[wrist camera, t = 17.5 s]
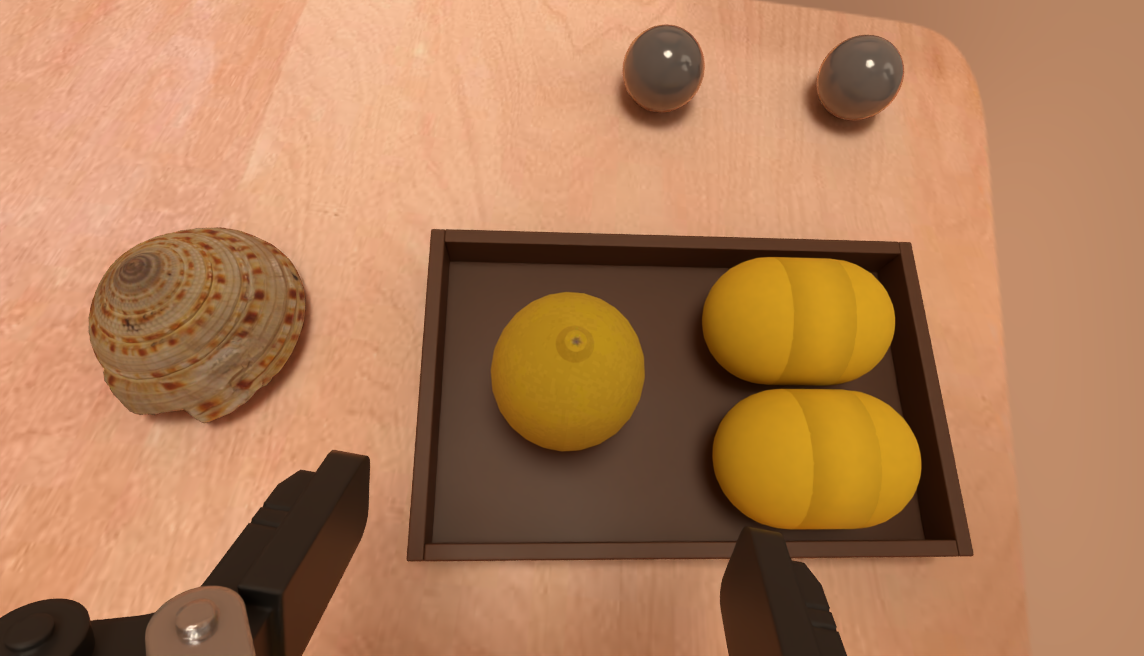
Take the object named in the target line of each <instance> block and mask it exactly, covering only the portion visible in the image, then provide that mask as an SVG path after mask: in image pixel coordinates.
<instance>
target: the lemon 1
mask: <svg viewBox="0 0 1144 656" xmlns="http://www.w3.org/2000/svg"><path fill="white" fill-rule="evenodd" d="M644 379H645V370H644V355H643V352H642V349H641V345H640V342H639V339H638V336H637V334H636V333H635V331H634V329H633V328H632V326H631V324H630V323H629V321H628V320H627V319H626V318H625V317H624V316H623V315H622V314H621V313H620V312H619V311H618V310H617V309H616V308H615V307H613V306H612V305H610V304H608V303H607V302H605V301H603V300H602V299H600V298H597V297H594V296H590V295H587V294H584V293H574V292H563V293H556V294H550V295H547V296H545V297H542V298H540V299H537V300H535V301H533V302H531V303H530V304H528V305H527V306H526V307H524V308H523V309H522V310H520V311H519V312H518V313H516V315H515V316H514V317H513V318H512V319H511V321H510V322H509V323H508V324H507V326H506V327H505V328H504V329H503V331H502V333H501V336H500V338H499V340H498V342H497V344H496V346H495V349H494V353H493V359H492V365H491V380H492V390H493V394H494V396H495V399H496V402H497V405H498V407H499V410H500V412H501V413H502V415H503V416H504V418H505V419H506V420H507V422H508V423H509V425H510V426H511V427H512V428H513V429H514V430H515V431H517V432H518V433H519V434H520V435H521V436H522V437H524V438H525V439H526V440H528V441H530V442H532V443H534V444H536V445H538V446H540V447H543V448H547V449H552V450H557V451H577V450H583V449H586V448H589V447H592V446H595V445H598V444H601V443H602V442H604V441H605V440H607V439H608V438H610V437H611V436H613V435H615V434H616V433H617V432H618V431H619V430H620V429H621V428H622V427H623V425H624V424H625V423H626V422H627V421H628V420H629V419H630V417H631V416H632V414H633V412H634V410H635V408H636V406H637V404H638V402H639V400H640V397H641V393H642V388H643V384H644Z"/></svg>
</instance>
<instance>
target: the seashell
mask: <svg viewBox="0 0 1144 656" xmlns="http://www.w3.org/2000/svg"><path fill="white" fill-rule="evenodd" d="M304 312H305V295H304V289H303V285H302V283H301V280H300V277H299V275H298V273H297V271H296V269H295V267H294V265H293V264H292V263H291V261H290V260H289V258H287V257H286V256H285V255H284V254H283V253H282V252H281V251H280V250H278V249H277V248H276V247H275V246H273V245H272V244H270V243H268V242H266V241H264V240H261V239H259V238H257V237H255V236H253V235H250V234H247V233H245V232H242V231H238V230H233V229H226V228H196V229H189V230H181V231H178V232H173V233H169V234H165V235H161V236H157V237H155V238H152V239H149V240H147V241H145V242H142V243H140V244H138V245H136V246H135V247H133V248H131V249H130V250H128V251H127V252H125V253H124V254H123V255H122V256H120V257H119V258H118V259H117V260H116V261H115V262H114V263H113V264H112V265H111V266H110V268H109V269H108V271H107V272H106V273H105V275H104V276H103V278H102V280H101V281H100V283H99V285H98V287H97V290H96V292H95V295H94V297H93V300H92V304H91V308H90V314H89V335H90V342H91V344H92V347H93V350H94V353H95V355H96V358H97V359H98V361H99V362H100V364H101V365H102V367H103V368H104V372H103V373H104V379H105V382H106V383H107V384H108V385H109V386H110V390H111V391H112V393H113V394H114V395H115V396H116V397H117V398H118V399H119V400H120V401H121V403H122V404H123V405H124V406H125V407H126V408H127V409H128V410H129V411H131V412H133V413H135V414H139V415H143V414H152V415H155V414H158V413H163V412H172V411H179V410H185V411H186V412H188V413H189V414H190V415H192V416H193V417H194V418H196V419H197V420H199V421H200V422H202V423H206V422H210V421H212V420H214V419H217V418H219V417H222V416H224V415H227V414H229V413H231V412H233V411H234V410H236V409H237V408H238V406H241V405H242V404H244V403H246V402H247V401H248V400H249V399H250V398H251V397H252V396H253V395H254V393H255V392H256V391H257V390H258V389H259V388H261V387H263V386H266V385H267V383H268V382H270V381H271V380H272V377H273V376H275V375H276V374H277V373H278V372H279V371H280V370H281V369H282V367H283V366H284V364H285V363H286V361H287V360H288V358H289V357H290V355H291V353H292V352H293V349H294V347H295V345H296V343H297V340H298V338H299V335H300V332H301V329H302V325H303V321H304ZM263 383H264V384H263ZM262 384H263V385H262Z"/></svg>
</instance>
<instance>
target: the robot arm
mask: <svg viewBox="0 0 1144 656" xmlns="http://www.w3.org/2000/svg"><path fill="white" fill-rule="evenodd" d="M369 479H370V459H369V457H368V456H365V455H359V454H354V453H348V452H343V451H337V450H332V451H331V452H330V453H329V454H328V455H327V457H326V458H325V459H324V461H323V462H322V464H321V465H320V467H319V468H318V470H317V471H316V472H311V471H305V470H299V471H298V472H296V473H295V474H293V475H292V476H290V477H289V478H287V479H286V480H284V481H283V482H281V483H279V484H278V485H277V487H276V488H275V489H274V490H273V492H272V493H271V494H270V496H269V497H268V498H267V500H266V501H265V502H264V505H263V507H261V508H260V509H259V510H258V512H257V513H256V514H255V516H254V517H253V518H252V521H251V523H249V524H248V525H247V526H246V528H245V529H244V530H243V532H242V533H241V534H240V536H239V537H238V538H237V539H236V541H235V542H234V543H233V545H232V546H231V547H230V549H229V550H228V551H227V553H226V554H225V555H224V557H223V558H222V559H221V561H220V562H219V563H218V565H217V566H216V567H215V569H214V570H213V571H212V573H211V574H210V575H209V577H208V578H207V579H206V581H205V582H204V583H203V584H202V585H201V586H200V587H198V588H194V589H191V590H188V591H185V592H183V593H181V594H179V595H177V596H175V597H173V598H172V599H170V600H168V601H167V602H166V603H165V604H163V605H162V606H161V607H160V608H159V609H158V610H157V611H156V612H155V613H151V614H146V615H140V616H131V617H122V618H112V619H103V620H93V621H90V617H89V614H88V611H87V610H86V608H85V607H84V606H83V605H81V604H80V603H78V602H76V601H73V600H68V599H47V600H42V601H37V602H34V603H30V604H27V605H25V606H22V607H20V608H17V609H15V610H13V611H11V612H9V613H8V614H6V615H4V616H3V617H1V618H0V656H302V654H303V652H304V650H305V648H306V646H307V645H308V643H309V641H310V639H311V637H312V635H313V633H314V631H315V629H316V627H317V625H318V623H319V621H320V619H321V617H322V615H323V613H324V611H325V609H326V607H327V605H328V603H329V601H330V599H331V597H332V595H333V594H334V592H335V590H336V588H337V586H338V584H339V582H340V580H341V578H342V576H343V574H344V572H345V570H346V568H347V566H348V564H349V562H350V560H351V558H352V556H353V554H354V552H355V550H356V548H357V546H358V545H359V543H360V540H361V538H362V536H363V533H364V530H365V526H366V522H367V517H368V509H369ZM720 607H721V613H722V619H723V625H724V631H725V636H726V642H727V648H728V654H729V656H847V654H846V651H845V649H844V646H843V643H842V640H841V638H840V635H839V632H837V631H836V624H835V621H834V618H833V616H832V613H831V612H829V608H830V607H829V605H828V602H827V599H826V596H825V594H824V591H823V588H822V585H821V584H820V582H819V581H818V580H817V579H816V577H815V576H814V575H813V574H812V572H811V571H810V570H809V568H808V567H807V566H806V565H805V563H802V562H797V561H791V557H790V554H789V551H788V548H787V545H786V542H785V539H784V537H783V535H782V534H781V533H779V532H773V531H768V530H762V529H757V528H752V527H744V528H743V529H742V530H741V532H740V535H739V537H738V540H737V542H736V545H735V547H734V550H733V553H732V555H731V558H730V560H729V563H728V565H727V568H726V571H725V573H724V576H723V579H722V583H721V590H720Z"/></svg>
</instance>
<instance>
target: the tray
mask: <svg viewBox="0 0 1144 656" xmlns="http://www.w3.org/2000/svg"><path fill="white" fill-rule="evenodd" d="M763 257H788V258H827V259H836V260H843V261H847V262H850V263H853V264H856V265H858V266H860V267H862V268H863V269H865V270H866V271H868V272H869V273H871V274H872V275H873V276H874V277H875V278H876V279H877V280H878V281H879V282H880V283H881V284H882V285H883V286H884V288H885V290H886V291H887V293H888V295H889V297H890V299H891V302H892V304H893V308H894V314H895V330H894V335H893V339H892V342H891V344H890V346H889V348H888V350H887V352H886V354H885V355H884V357H883V358H882V360H881V361H880V362H879V363H878V364H877V365H876V366H875V367H874V368H873V369H872V370H870V371H869V372H867V373H866V374H864V375H863V376H861V377H859V378H857V379H855V380H852V381H849V382H845V383H842V384H837V385H766V384H757V383H751V382H748V381H745V380H742V379H740V378H738V377H736V376H734V375H733V374H731V373H729V372H728V371H727V370H726V369H724V368H723V367H722V366H721V365H720V364H719V363H718V362H717V361H716V359H715V358H714V356H713V355H712V354H711V352H710V351H709V348H708V346H707V344H706V341H705V339H704V335H703V327H702V315H703V308H704V304H705V301H706V298H707V296H708V294H709V292H710V290H711V288H712V287H713V285H714V284H715V283H716V282H717V280H718V279H719V278H720V277H721V276H722V275H723V274H725V273H726V272H727V271H728V270H729V269H731V268H733V267H734V266H736V265H738V264H740V263H742V262H745V261H748V260H752V259H755V258H763ZM563 292H574V293H584V294H587V295H590V296H594V297H597V298H600V299H602V300H603V301H605V302H607V303H608V304H610V305H612V306H613V307H615V308H616V309H617V310H618V311H619V312H620V313H621V314H622V315H623V316H624V317H625V318H626V319H627V320H628V321H629V323H630V324H631V326H632V328H633V329H634V331H635V333H636V334H637V336H638V339H639V342H640V345H641V349H642V352H643V355H644V370H645V379H644V384H643V388H642V393H641V397H640V400H639V402H638V404H637V406H636V408H635V410H634V412H633V414H632V416H631V417H630V419H629V420H628V421H627V422H626V423H625V424H624V425H623V427H622V428H621V429H620V430H619V431H618V432H617V433H616V434H615V435H613V436H611V437H610V438H608V439H607V440H605V441H604V442H602V443H601V444H598V445H595V446H592V447H589V448H586V449H583V450H577V451H557V450H552V449H547V448H543V447H540V446H538V445H536V444H534V443H532V442H530V441H528V440H526V439H525V438H524V437H522V436H521V435H520V434H519V433H518V432H517V431H515V430H514V429H513V428H512V427H511V426H510V425H509V423H508V422H507V420H506V419H505V418H504V416H503V415H502V413H501V412H500V410H499V407H498V405H497V402H496V399H495V396H494V394H493V390H492V380H491V365H492V359H493V353H494V349H495V346H496V344H497V342H498V340H499V338H500V336H501V333H502V331H503V329H504V328H505V327H506V326H507V324H508V323H509V322H510V321H511V319H512V318H513V317H514V316H515V315H516V313H518V312H519V311H520V310H522V309H523V308H524V307H526V306H527V305H528V304H530V303H531V302H533V301H535V300H537V299H540V298H542V297H545V296H547V295H550V294H556V293H563ZM773 389H843V390H849V391H857V392H862V393H865V394H868V395H871V396H873V397H875V398H877V399H879V400H881V401H883V402H884V403H886V404H888V405H889V406H891V407H892V408H893V409H894V410H895V411H896V412H897V413H898V414H899V415H900V416H901V417H903V419H904V420H905V421H906V422H907V424H908V425H909V427H910V429H911V430H912V432H913V434H914V436H915V438H916V440H917V443H918V445H919V450H920V454H921V476H920V480H919V483H918V486H917V489H916V491H915V493H914V495H913V497H912V499H911V500H910V501H909V502H908V504H907V505H906V506H905V507H904V508H903V510H902V511H901V512H899V513H898V514H896V515H895V516H893V517H892V518H890V519H889V520H887V521H886V522H883V523H881V524H878V525H875V526H872V527H867V528H859V529H781V528H774V527H770V526H767V525H764V524H761V523H758V522H756V521H754V520H753V519H751V518H749V517H747V516H746V515H744V514H743V513H742V512H741V511H740V510H738V509H737V508H736V507H735V506H734V505H733V504H732V503H731V502H730V500H729V499H728V498H727V497H726V495H725V494H724V493H723V491H722V489H721V487H720V485H719V482H718V480H717V478H716V475H715V472H714V466H713V442H714V437H715V435H716V432H717V430H718V427H719V425H720V423H721V421H722V420H723V418H724V417H725V415H726V414H727V413H728V411H729V410H731V409H732V408H733V407H734V406H735V405H736V404H737V403H738V402H740V401H741V400H743V399H745V398H747V397H748V396H750V395H753V394H756V393H759V392H762V391H766V390H773ZM744 527H752V528H757V529H762V530H768V531H773V532H779V533H781V534H782V535H783V537H784V539H785V542H786V545H787V548H788V551H789V554H790V557H791V558H842V557H953V556H973V555H974V554H973V549H972V544H971V539H970V534H969V529H968V524H967V519H966V514H965V509H964V504H963V499H962V494H961V489H960V484H959V479H958V474H957V469H956V465H955V460H954V455H953V450H952V445H951V440H950V435H949V430H948V425H947V420H946V415H945V410H944V405H943V400H942V395H941V390H940V385H939V380H938V375H937V370H936V365H935V360H934V355H933V350H932V345H931V340H930V335H929V330H928V325H927V320H926V315H925V310H924V305H923V300H922V295H921V290H920V285H919V280H918V275H917V270H916V266H915V261H914V256H913V251H912V246H911V243H910V242H899V243H898V242H885V241H849V240H813V239H776V238H740V237H703V236H667V235H630V234H594V233H558V232H521V231H485V230H448V229H446V230H440V229H432V230H431V239H430V253H429V266H428V280H427V293H426V306H425V320H424V333H423V347H422V360H421V374H420V387H419V401H418V414H417V427H416V441H415V454H414V468H413V481H412V495H411V508H410V522H409V535H408V548H407V561H509V560H620V559H730V558H731V555H732V553H733V550H734V547H735V545H736V542H737V540H738V537H739V535H740V532H741V530H742V529H743V528H744Z"/></svg>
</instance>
